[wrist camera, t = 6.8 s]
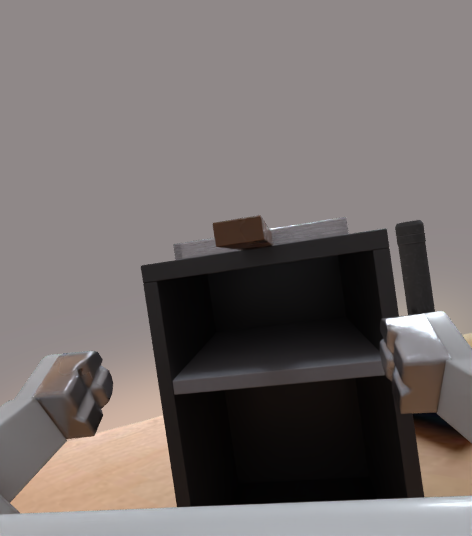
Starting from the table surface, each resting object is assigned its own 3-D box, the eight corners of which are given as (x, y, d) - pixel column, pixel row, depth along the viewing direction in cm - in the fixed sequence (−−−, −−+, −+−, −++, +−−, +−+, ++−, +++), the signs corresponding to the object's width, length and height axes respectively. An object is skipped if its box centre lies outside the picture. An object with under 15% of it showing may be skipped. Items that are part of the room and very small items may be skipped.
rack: (395, 219, 13) (391, 187, 13) (102, 264, 15) (97, 237, 15) (326, 242, 36) (324, 230, 36) (213, 259, 38) (211, 248, 38)
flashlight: (401, 370, 68) (422, 382, 61) (380, 226, 67) (400, 222, 60) (435, 364, 68) (461, 375, 61) (415, 221, 68) (439, 216, 61)
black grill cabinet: (444, 643, 22) (386, 228, 21) (177, 639, 24) (121, 268, 24) (377, 479, 38) (343, 239, 37) (220, 487, 40) (186, 263, 40)
